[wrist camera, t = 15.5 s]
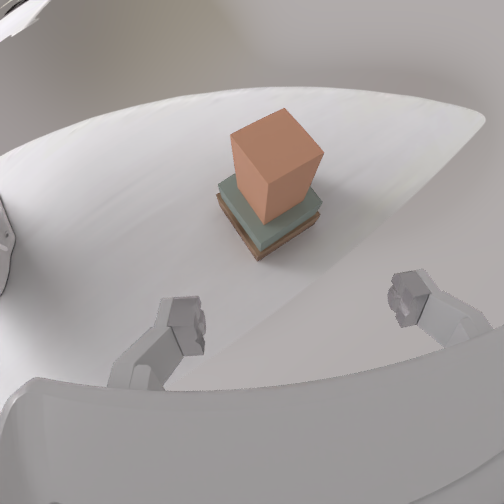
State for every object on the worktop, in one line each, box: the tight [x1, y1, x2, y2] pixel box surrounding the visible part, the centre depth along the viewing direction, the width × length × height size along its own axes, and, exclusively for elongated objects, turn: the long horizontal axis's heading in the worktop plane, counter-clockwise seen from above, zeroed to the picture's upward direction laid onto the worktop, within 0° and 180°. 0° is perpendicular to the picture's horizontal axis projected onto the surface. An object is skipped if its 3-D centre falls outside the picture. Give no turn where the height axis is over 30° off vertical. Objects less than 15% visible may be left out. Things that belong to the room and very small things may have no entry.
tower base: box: [216, 193, 320, 262], centre depth 36 cm, size 9×9×4 cm
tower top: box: [218, 173, 322, 252], centre depth 32 cm, size 8×8×4 cm
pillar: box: [230, 108, 324, 225], centre depth 25 cm, size 5×5×10 cm
